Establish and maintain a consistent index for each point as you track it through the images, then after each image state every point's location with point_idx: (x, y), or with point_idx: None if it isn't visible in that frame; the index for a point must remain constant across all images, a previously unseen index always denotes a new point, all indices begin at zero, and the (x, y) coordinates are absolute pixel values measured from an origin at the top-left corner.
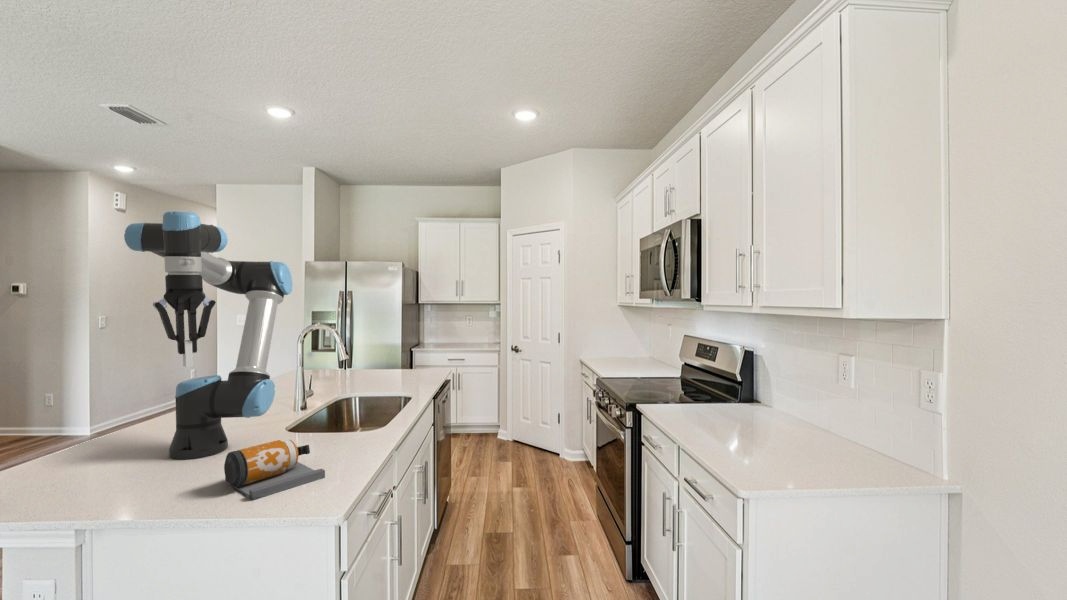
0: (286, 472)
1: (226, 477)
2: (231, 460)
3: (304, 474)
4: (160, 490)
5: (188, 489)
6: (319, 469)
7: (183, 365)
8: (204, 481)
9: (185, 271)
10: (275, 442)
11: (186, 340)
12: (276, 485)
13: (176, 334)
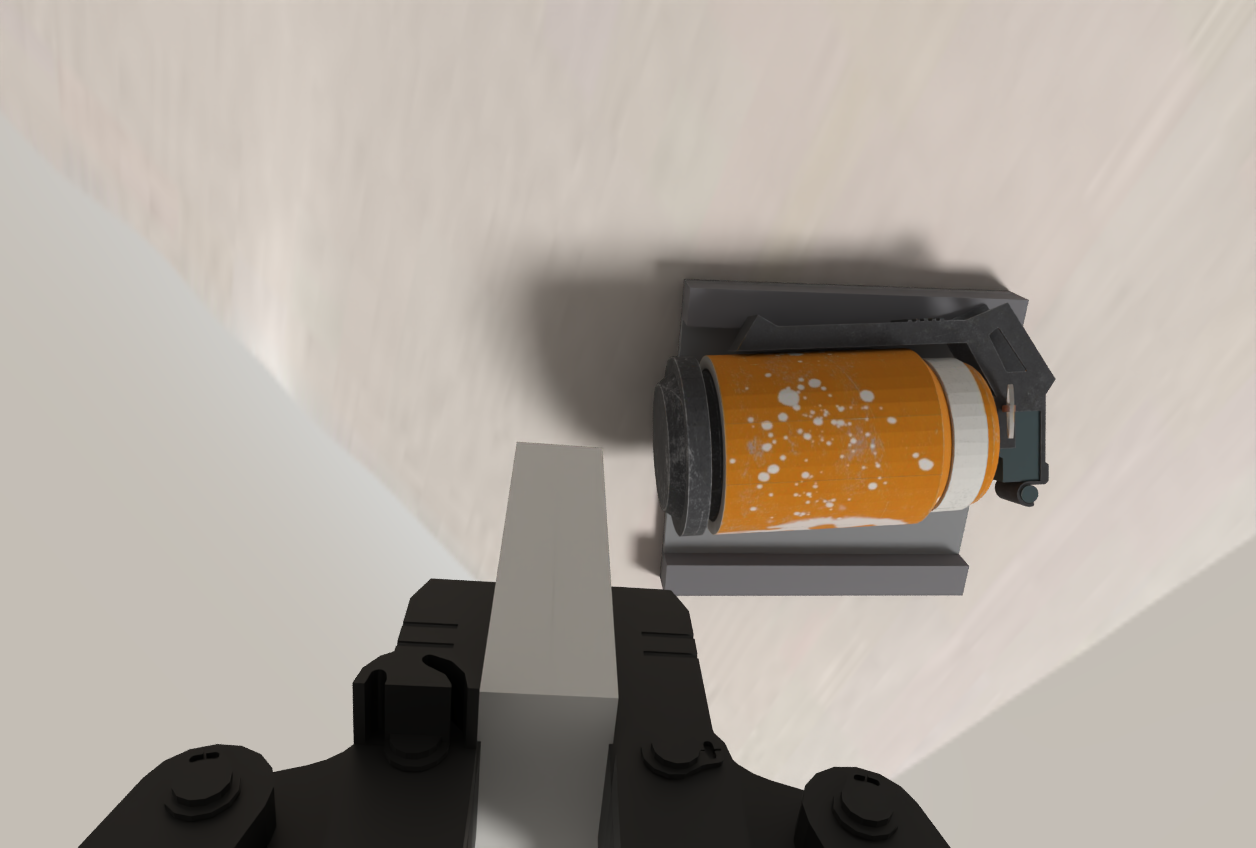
0: None
1: (654, 397)
2: (667, 490)
3: (887, 575)
4: (441, 140)
5: (535, 243)
6: (956, 571)
7: (516, 450)
8: (622, 192)
9: None
10: (907, 485)
11: (557, 718)
12: (756, 594)
13: (327, 832)
